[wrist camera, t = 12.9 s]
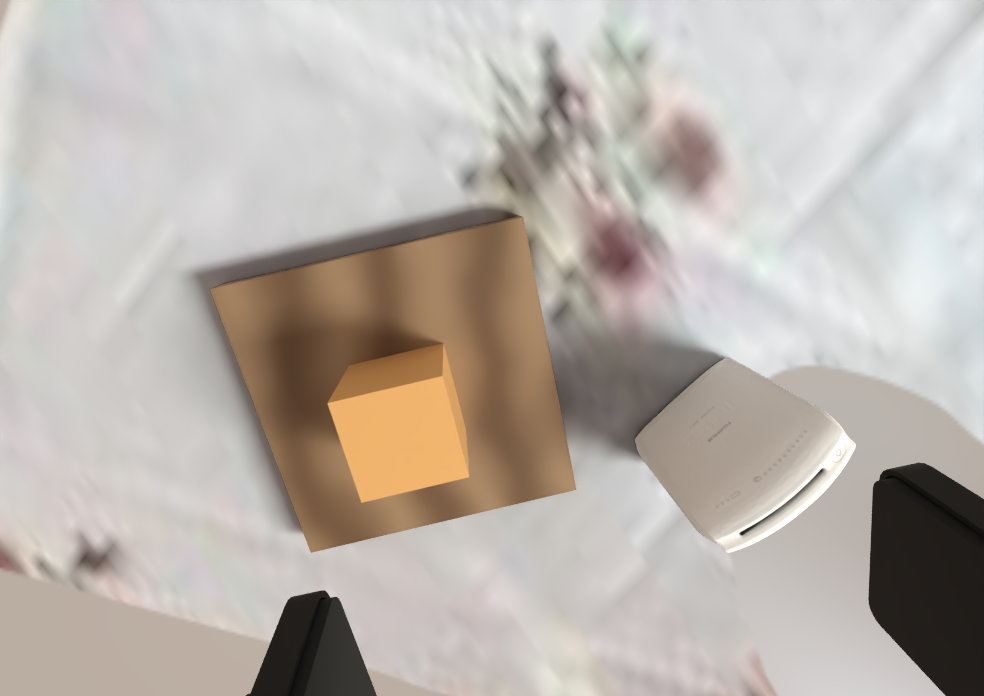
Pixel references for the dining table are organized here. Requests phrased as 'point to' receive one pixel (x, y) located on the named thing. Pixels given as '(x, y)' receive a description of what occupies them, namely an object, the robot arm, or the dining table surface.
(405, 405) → the solid orange cube
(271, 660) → the robot arm
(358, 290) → the board
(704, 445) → the photo printer
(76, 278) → the dining table surface
